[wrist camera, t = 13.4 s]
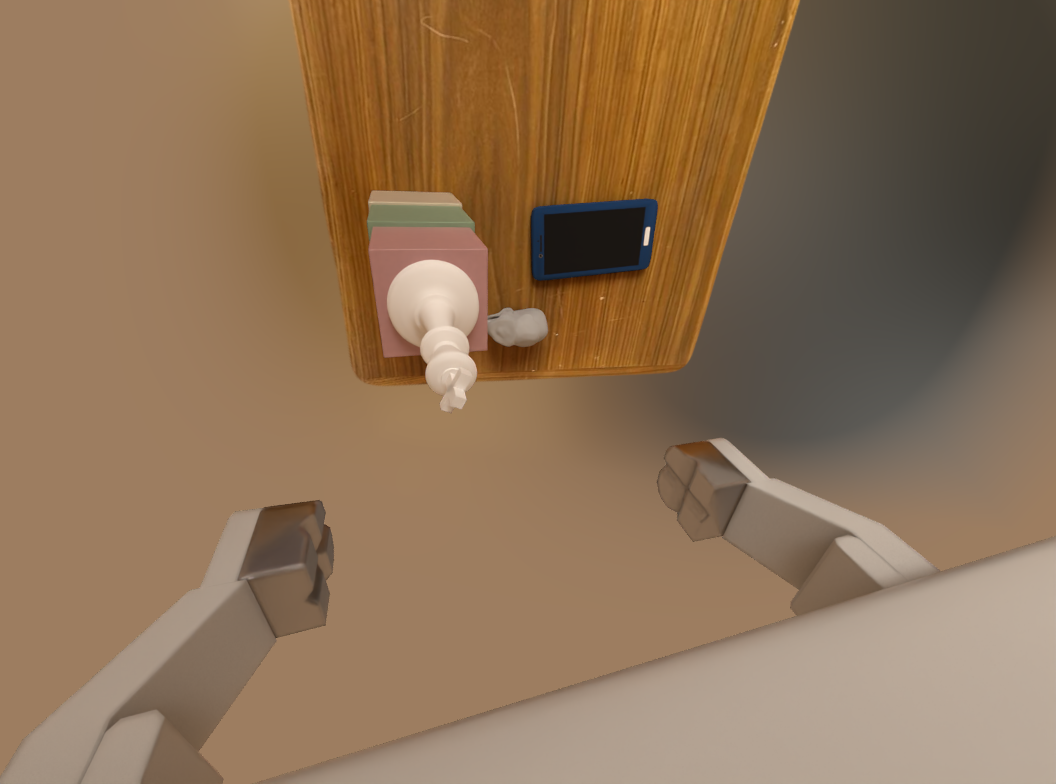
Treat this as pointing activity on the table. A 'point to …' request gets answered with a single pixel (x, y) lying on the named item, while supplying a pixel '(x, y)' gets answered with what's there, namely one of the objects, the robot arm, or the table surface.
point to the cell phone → (592, 238)
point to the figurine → (517, 327)
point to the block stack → (423, 253)
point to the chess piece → (438, 324)
